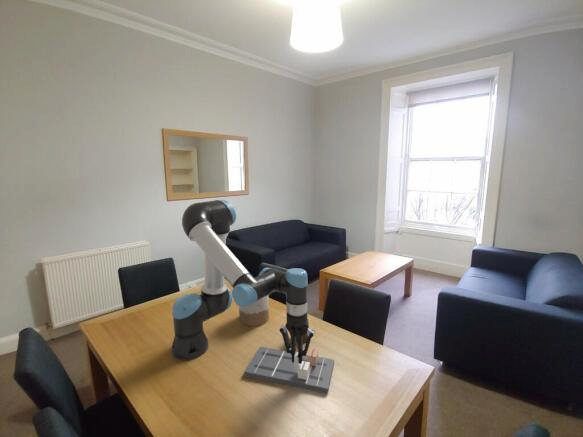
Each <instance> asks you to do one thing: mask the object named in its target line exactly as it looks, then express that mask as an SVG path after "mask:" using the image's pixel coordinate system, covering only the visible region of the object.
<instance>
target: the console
mask: <svg viewBox="0 0 583 437" xmlns="http://www.w3.org/2000/svg"><path fill="white" fill-rule="evenodd" d="M303 361H306V362H307V354H306V356H303ZM334 366H335V359H331V358H326V357H320V356H318V362H317V365H316V366H312V365H310V373H309V376H308V379H307V380H305V379H300V378H298V373H296V372H294V363H293V362H292V355H291V354H290V353H287V351H286V350H281V349H277V348H270V347H265V346H259V347H258V349H257V351H256V352H255V354H254V356H253V357H252V359H251V360H250V362H249V363H248V365H247V367H246V369H245V370H244V372H243V373H244V374H243V375H244V377H245V378H251V379H255V380H261V381H266V382H271V383H277V384H279V385H280V384H281V385H284V386H289V387H294V388H299V389H304V390H309V391H314V392H318V393H323V394H329V391H330V385H331V381H332V378H333V373H334V372H333V371H334Z"/></svg>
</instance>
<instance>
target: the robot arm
mask: <svg viewBox="0 0 583 437" xmlns="http://www.w3.org/2000/svg"><path fill="white" fill-rule="evenodd" d="M236 219H237V213H236V210H235V207H234V206H233V204H232V203H231V202H230V201H228V200H226V199H216V200H215V199H214V200H210V201H201V202H194V203H191V204H190V205H189V206H187V207H186V209H185V210H184V212H183V213H182V218H181V226H182V229H183V232H184V233H185V235H186V236H187V238H188V239H189V240H190V241H192V242H195V243H196V244H197V245H198V246H199V248H200V249H201V250H202V251H203V253H204V254H205V256H204V261H205V262H204V264H205V265H204V284H203V285H201V288H200V294H198V293H193V292H192V293H188V294H187V293H186V294H184V295H182V296H180V297H178V298H177V299H175V301H174V302H173V304H172V317H173V330H174V338H173V341H172V344H171V354H172V357H173V358H174V359H176V360H181V361H182V360H183V361H187V360H193V359H195V358H197V357H198V358H199V357H200V356H202V355H203V354H205V353H206V351H207V350H208V348H209V339H208V338H207V336H206V333H205V331H204V324H203V323H204V322H206V321H208V320H210V319H212V318H215V317H217V316H218V315H221V314H223V313H224V312H225V311H227V310H229V309H230V308H231V305H232V303H233V302H234V303H235V305H237V306H238V307H239V306H240V307H246V306H248V305H251V304H254V303H255V302H256V301H258V300H260V299H262V298H263V297H265V296H268V295H269V296H270V295H271V294H273V293H275V292H277V293H281V294H285V296H286V297H285V298H286V299H285V300H286V302H285V304H286V323H285V325H283V324H282V325H281V327H280V328H279V333H281V336H282V338H283V340H282V341H283V343H284V347H285V351H287V353H290V354H291V355H292V362H293V363H294V372H296V373H298V366H299V364H301V363H302V361H303V356H306V355H307V354H308V352H309V349H310V343H311V340H312V339H313V337H314V334H315V333H316V331H315V330H314V329H312V330H311V328H310V326H308V324H307V319H308V286H309V283H308V282H309V281H308V273H307V271H306V270H305V269H303V268H296V267H295V268H294V267H292V268H289V269H287V270H286V271H284V270H283V271H282V270H280V269H277V268H273V267H272V268H271V267H264V268H262V270H261V271H260V272H259V274H258V276H255V277H254V276H253V275H252V274H251V273H250V272H249V271H248V269H247V268H246V267H245V266H244V265H243V264H242V262H241V261H240V260H239V258H237V257H236V255H235V254H234V253H233V252H232V251H231V249H229V247H228V246H227V243H226V242H227V235H228V234H229V233H230V232H231V226H232V225H234V224H235V223H236V221H237V220H236ZM225 280H226V281H227V282H228V283H229V284H230V286H231V287H232V290H230V288H229V287H228V285H227V284H226V283H225ZM232 301H233V302H232ZM306 332H307V335H308V338H307V341H306V342H305V345H304V343H303V335H304V334H305V333H306ZM290 334H291V336H290V337H289V335H290ZM296 336H297V337H298V343H297V342H296Z"/></svg>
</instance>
